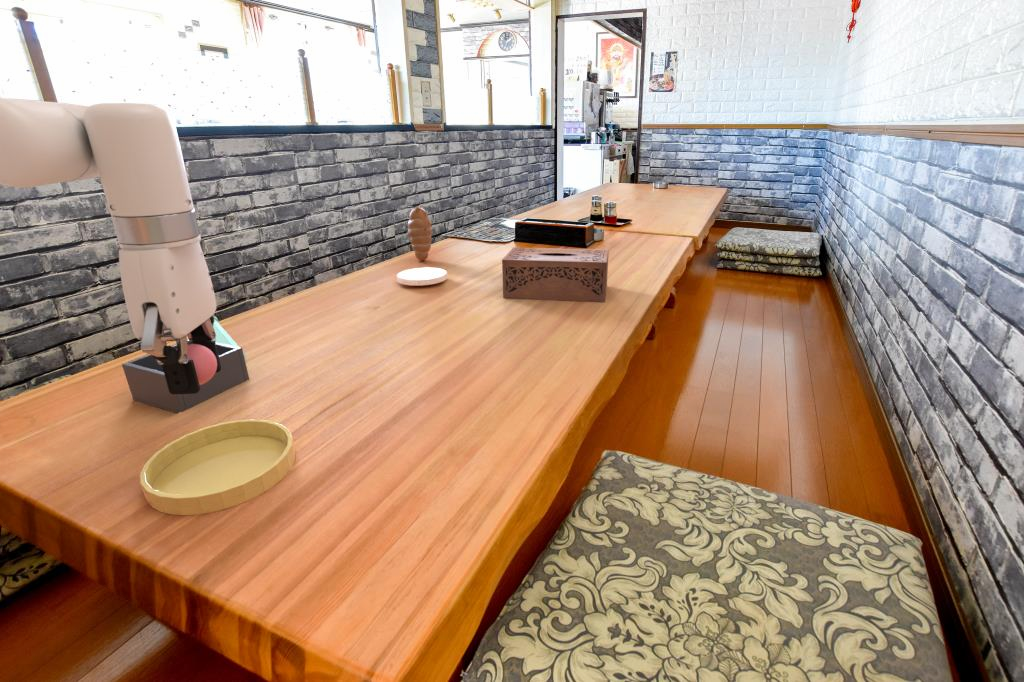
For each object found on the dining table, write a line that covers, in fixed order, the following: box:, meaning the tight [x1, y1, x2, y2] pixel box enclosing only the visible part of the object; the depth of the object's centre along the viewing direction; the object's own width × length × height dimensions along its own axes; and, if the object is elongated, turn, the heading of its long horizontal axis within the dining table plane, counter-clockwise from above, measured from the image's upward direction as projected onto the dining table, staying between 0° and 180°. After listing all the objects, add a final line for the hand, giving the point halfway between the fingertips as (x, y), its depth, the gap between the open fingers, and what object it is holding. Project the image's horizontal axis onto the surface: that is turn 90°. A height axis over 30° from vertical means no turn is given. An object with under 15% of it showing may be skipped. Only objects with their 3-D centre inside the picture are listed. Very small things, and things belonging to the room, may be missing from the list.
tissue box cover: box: [501, 246, 610, 303], centre depth 138 cm, size 26×14×10 cm, turn 79°
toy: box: [176, 344, 217, 385], centre depth 63 cm, size 5×5×5 cm
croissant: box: [407, 204, 433, 262], centre depth 172 cm, size 9×8×18 cm
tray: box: [139, 418, 296, 516], centre depth 68 cm, size 17×17×3 cm
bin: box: [121, 338, 250, 414], centre depth 89 cm, size 13×13×7 cm
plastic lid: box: [396, 266, 448, 287], centre depth 151 cm, size 14×14×2 cm
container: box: [211, 315, 247, 364], centre depth 105 cm, size 6×6×25 cm
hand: (196, 380), depth 63 cm, fingers closed on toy, 4 cm apart
